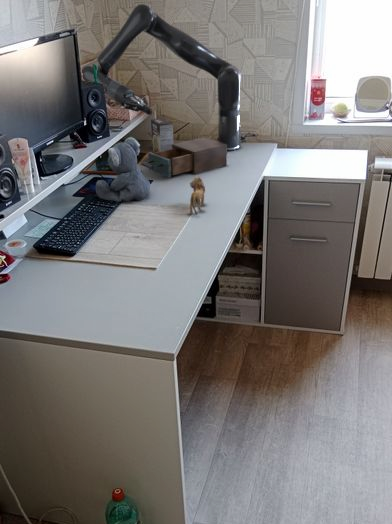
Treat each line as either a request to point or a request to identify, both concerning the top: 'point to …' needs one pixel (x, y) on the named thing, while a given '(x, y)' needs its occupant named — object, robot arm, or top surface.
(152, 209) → the top surface
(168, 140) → the coffee box
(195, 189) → the lion figurine
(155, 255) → the top surface
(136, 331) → the top surface
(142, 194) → the koala plush
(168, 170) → the drawer
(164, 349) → the top surface
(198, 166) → the cabinet
